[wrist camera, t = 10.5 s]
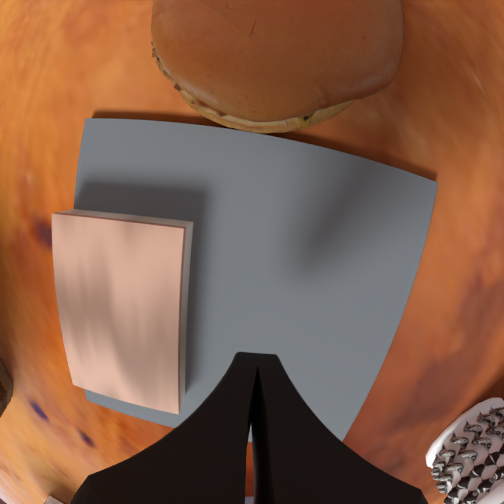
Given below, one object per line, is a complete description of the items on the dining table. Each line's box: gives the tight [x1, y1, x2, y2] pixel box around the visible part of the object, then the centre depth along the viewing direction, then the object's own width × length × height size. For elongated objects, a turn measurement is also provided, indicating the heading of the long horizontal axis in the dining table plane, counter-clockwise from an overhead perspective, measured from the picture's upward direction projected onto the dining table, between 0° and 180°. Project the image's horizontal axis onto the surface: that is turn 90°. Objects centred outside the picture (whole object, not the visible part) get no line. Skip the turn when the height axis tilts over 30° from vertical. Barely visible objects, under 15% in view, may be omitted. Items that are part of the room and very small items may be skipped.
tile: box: [52, 209, 193, 414], centre depth 12 cm, size 9×2×6 cm
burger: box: [151, 0, 404, 133], centre depth 8 cm, size 10×9×5 cm
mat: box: [74, 118, 438, 442], centre depth 13 cm, size 16×16×1 cm
